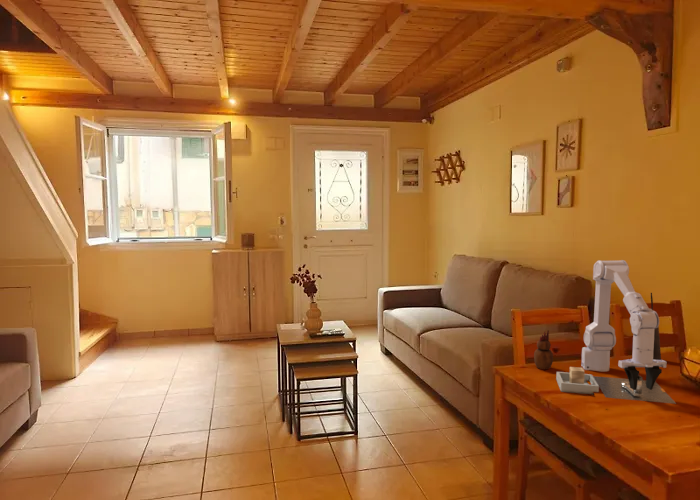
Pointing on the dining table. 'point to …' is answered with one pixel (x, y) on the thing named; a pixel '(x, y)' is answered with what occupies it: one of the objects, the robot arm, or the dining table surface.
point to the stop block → (576, 375)
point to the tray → (576, 388)
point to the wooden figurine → (543, 353)
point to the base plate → (615, 390)
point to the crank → (638, 390)
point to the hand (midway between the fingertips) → (641, 388)
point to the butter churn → (656, 340)
